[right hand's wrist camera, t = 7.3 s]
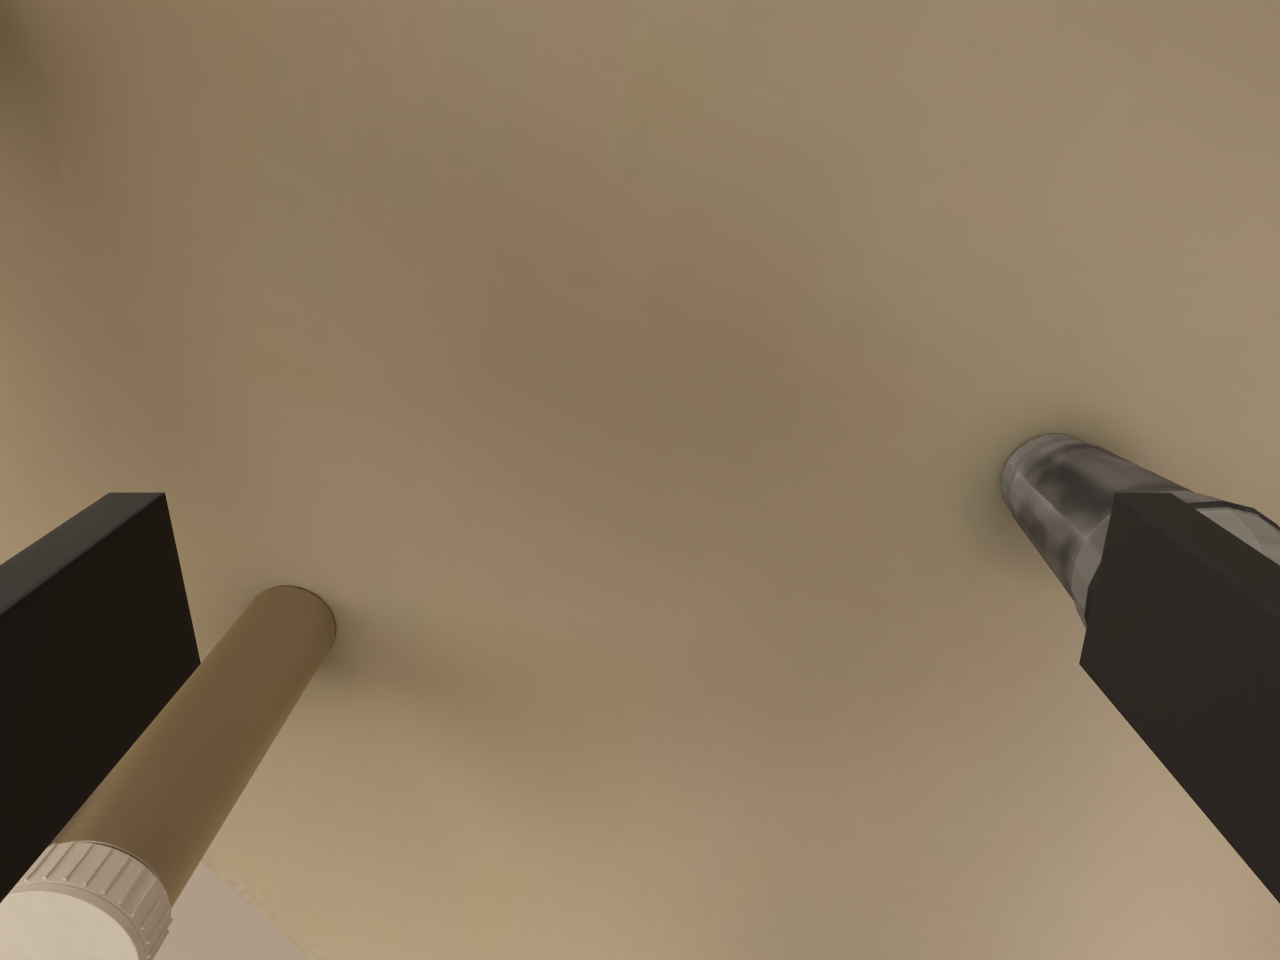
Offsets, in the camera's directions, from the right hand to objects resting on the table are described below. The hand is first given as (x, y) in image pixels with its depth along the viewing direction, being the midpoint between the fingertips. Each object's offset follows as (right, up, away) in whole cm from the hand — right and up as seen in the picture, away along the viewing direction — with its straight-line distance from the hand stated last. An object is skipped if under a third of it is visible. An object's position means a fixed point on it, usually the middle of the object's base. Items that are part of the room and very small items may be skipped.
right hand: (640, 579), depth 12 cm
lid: (-18, -13, +15) cm, 26 cm away
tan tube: (-18, -6, +32) cm, 37 cm away
